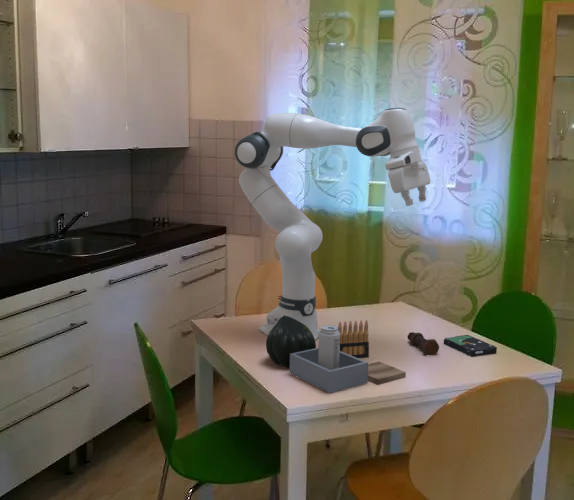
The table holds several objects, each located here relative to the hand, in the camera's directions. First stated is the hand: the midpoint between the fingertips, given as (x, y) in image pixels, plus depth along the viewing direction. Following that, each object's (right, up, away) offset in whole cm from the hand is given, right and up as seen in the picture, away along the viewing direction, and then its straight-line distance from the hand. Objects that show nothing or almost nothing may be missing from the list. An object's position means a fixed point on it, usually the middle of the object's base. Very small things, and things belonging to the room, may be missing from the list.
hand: (416, 203), depth 209 cm
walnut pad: (-13, -51, -12) cm, 54 cm away
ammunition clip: (-20, -48, +3) cm, 52 cm away
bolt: (+4, -47, +14) cm, 49 cm away
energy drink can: (-28, -51, -15) cm, 60 cm away
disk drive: (+20, -48, +15) cm, 54 cm away
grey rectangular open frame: (-28, -51, -15) cm, 60 cm away
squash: (-39, -49, -2) cm, 63 cm away
